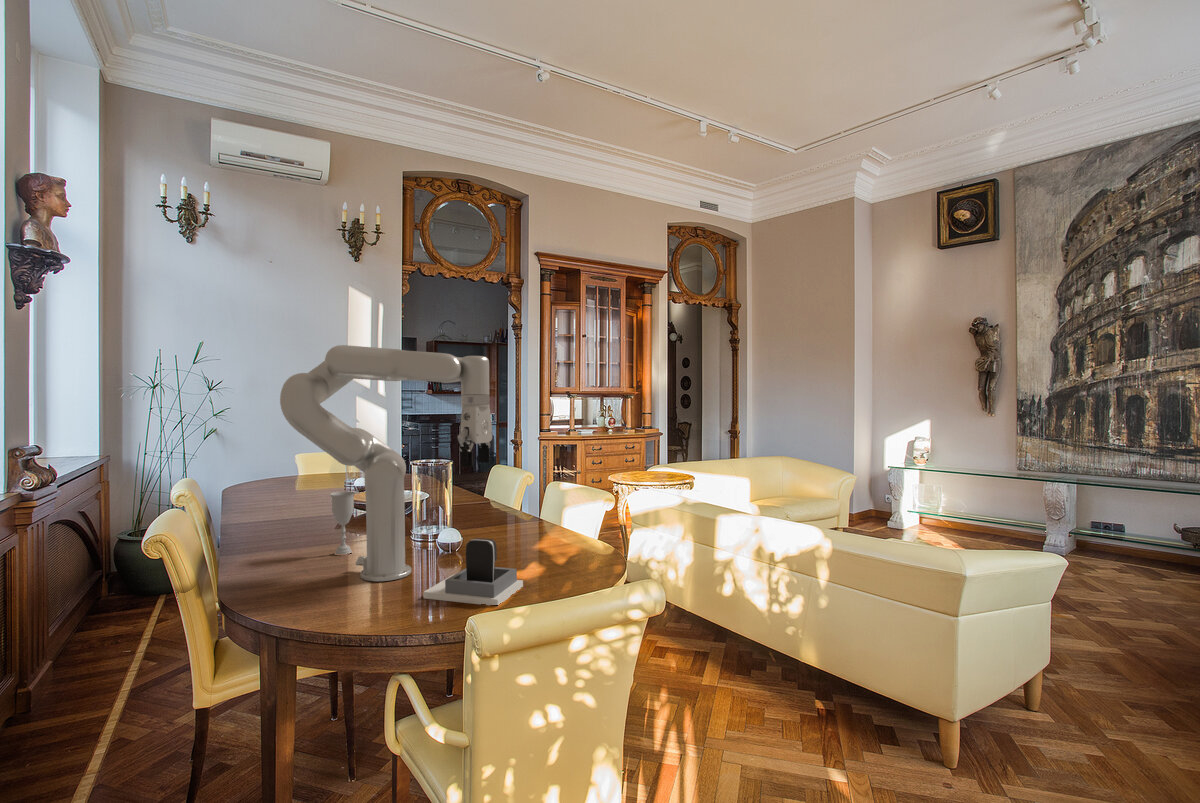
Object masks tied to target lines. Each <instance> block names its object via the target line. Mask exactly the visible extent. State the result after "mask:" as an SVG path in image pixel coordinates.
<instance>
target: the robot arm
mask: <svg viewBox="0 0 1200 803" xmlns="http://www.w3.org/2000/svg"><path fill="white" fill-rule="evenodd" d="M352 380H368V381H369V380H370V381H382V382H384V381H385V382H400V381H421V382H435V383H436V382H437V383H443V384H448V383H449V384H450V383H457V382H460V383H461V384H460V386H461V387H460V392H461V396H460V398H461V399H460V401H461V402H460V403H461V414H460V432H459V434H458V435H457V441H458V446H459V451H460V466H461V467H462V468H465V467H466V468H472V467H473V466H474V452H473V451H472V449H473V448H474V444H476V445H479V447H478V462H479V463H487V464H488V463H490V462H491V449H490V448H491V442H492V440H493V424H492V413H491V408H490V406H491V405H490V401H491V400H490V360H489V358H488V357H487V356H483V355H466V356H463V357H459V356H455V355H453V354H451V353H445V352H444V353H443V352H432V351H431V352H429V351H420V350H418V351H417V350H416V351H415V350H405V349H399V348H385V347H375V346H374V347H373V346H372V347H371V346H359V345H346V344H345V345H344V344H342V345H341V344H340V345H334V346H332V347H331V348H330V349H328V351H327V352H326V353H325V357H324V361H322V362H321V363H319V364H318V365H317V366H315V367H314V368H313V369H312V370H310V371H308V372H299V373H296V374H293V375H291V376H289V377H288V378H287V379H286V380H285V382H284V383H283V385H282V387H281V391H280V396H279V404H280V409H281V412H282V415H283V416H284V418H285V420H286V421H287V423H288V424H289V425H290V426H291V427H292V428H293V429H294V430H295V431H296V432H297V433H299V434H301V435H302V436H303V437H305V439H307V440H309V441H310V442H312V444H314V445H315V446H317V447H318V448H319V449H321V450H322V451H323V452H325V453H326V454H327V455H329V456H330V457H331V458H333V459H334V460H335V461H337V462H338V463H339V464H341V465H344V466H347V467H352V466H354V467H355V468H357V469H358V470H359V471H361V472H363V473H364V493H365V518H366V519H365V520H366V522H365V523H366V524H365V526H366V530H365V531H366V533H365V534H366V555H365V556H363V555H359V556H358V557H357V559H356V561H355V566H360V567H361V566H362V567H363V568H362V570H361V571H360V579H361V580H364V581H367V582H389V581H395V580H400V579H403V578H405V577H407V576H410V574H411V573H412V567H411V565H409V564H406V527H405V526H406V523H405V522H406V521H405V520H406V516H405V507H406V506H405V476H406V472H407V465H406V461H405V459H404V458H403V457H402V455H400V454H399V452H396V450H394V449H393V448H391V447H390V446H388V445H387V444H386V443H384V442H383V441H381V440H380V439H378V437H376V436H375V435H373V434H372V433H370V432H369V431H367V430H365V429H362V428H359V427H351V426H350V425H348V424H347V423H345V422H343V421H342V420H341V419H340V418H338V417H337V416H336V415H335V414H333V413H332V412H330V411H329V410H326V409H325V408H324V407H323V406H322V405H321V403H324V402H325V401H326V400H328V399H330V397H332V396H333V395H334V394H335V393H337V392H339V391H340V390H341V389H342V388H345V386H346V385H348V384H349V383H351V381H352Z"/></svg>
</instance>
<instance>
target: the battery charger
mask: <svg viewBox="0 0 1200 803" xmlns="http://www.w3.org/2000/svg"><path fill="white" fill-rule="evenodd" d="M497 555H498V552H497V543H496V541H495V539H494V540H493V539H491V538H485V537H484V538H483V537H482V538H479V537H477V538H476V537H475V538H473V539H470V540H469V541H467V543H466V546H465V566H466V567H465V568H466V571H467V580H469V581H480V582H490V583H492V582H493V581H495V576H494V573H495V567H496V562H497V560H498V559H497V558H498V556H497Z"/></svg>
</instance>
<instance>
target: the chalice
mask: <svg viewBox="0 0 1200 803" xmlns="http://www.w3.org/2000/svg"><path fill="white" fill-rule="evenodd" d="M355 494H356V492H355V491H348V490H346V491H343V490H342V491H334V492H331V493H330V494H329V495H330V496H331V512H332V514H333V516H334V519H335V521H336V522H337V524H338V525H340V527H341V529H340V531H339V532H340V533H341V535H340V537H339V539H340V540H341V543H340V545H338V546H337V547H336V550H335V552H334V554H335V553H336V554H347V553H351V552H353V551H352V549H351V547H350V545H349V544H347V543H346V539H347V536H346V532H347V530H346V525H347V524H349V522H350V520H351V517H352V516H353V513H354V510H355V498H354V497H355Z"/></svg>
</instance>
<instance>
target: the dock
mask: <svg viewBox="0 0 1200 803" xmlns="http://www.w3.org/2000/svg"><path fill="white" fill-rule="evenodd" d="M517 570H518V569H517V568H512V567H511V568H510V567H501V566H500V567H498V566H495V573H494V576H495V581H493V582H492V583H490V582H480V581H469V580H467V571H466V567H465V568H464V569H462V570H460V571H458V572H456V573H454V574H452V575H450V576H448V577H447V578H445V579H443V580H442V581H441V580H440V581H439V582H438V583H436V584H435V585H433V586H431V587H430V588H427V589H426V590H424V591H423V595H422V596H423V599H427V600H436V601H445V602H454V603H455V602H456V603H464V604H474V605H481V604H486V605H485V606H490V605H499V604H500V603H501V604H502V602H503V603H504V602H506V600H508V599H509V598H510V597H512V596H513V595H515V593H517V592H518V591H519V590H521V589H522V588H523V587H524V580H523V579H522V580H521V579H518V578H517V577H518V576H517V575H518V572H517ZM521 587H522V588H521ZM517 590H518V591H517ZM516 591H517V592H516ZM512 594H513V595H512ZM511 595H512V596H511ZM501 604H500V605H501ZM500 605H499V606H500Z"/></svg>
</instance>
